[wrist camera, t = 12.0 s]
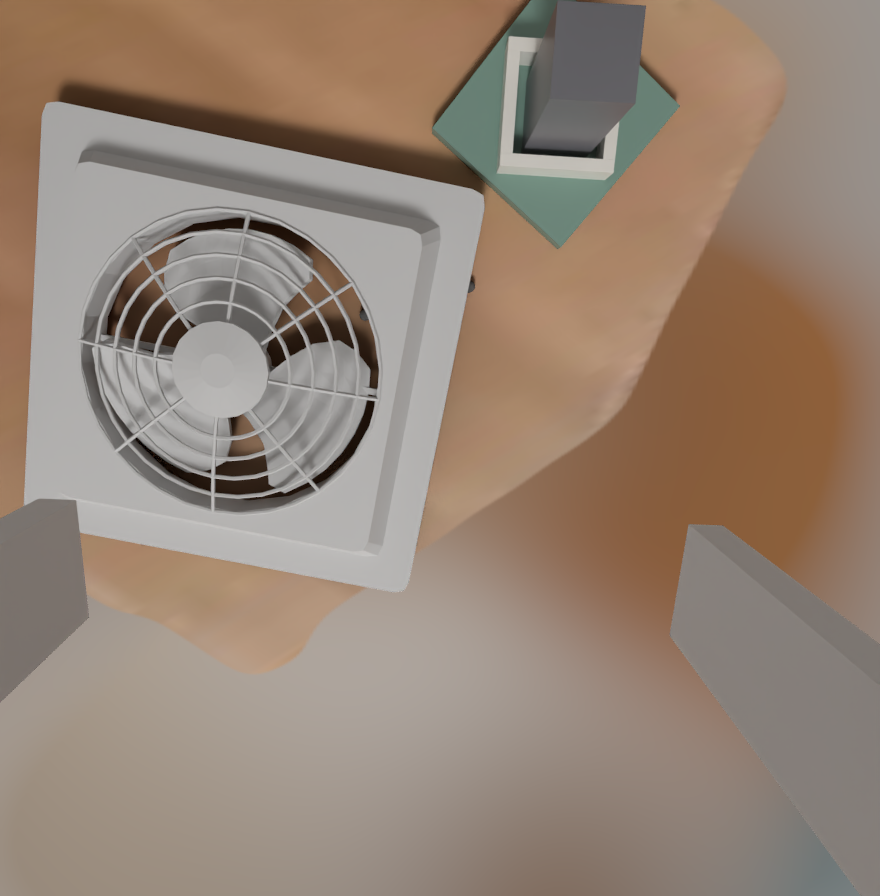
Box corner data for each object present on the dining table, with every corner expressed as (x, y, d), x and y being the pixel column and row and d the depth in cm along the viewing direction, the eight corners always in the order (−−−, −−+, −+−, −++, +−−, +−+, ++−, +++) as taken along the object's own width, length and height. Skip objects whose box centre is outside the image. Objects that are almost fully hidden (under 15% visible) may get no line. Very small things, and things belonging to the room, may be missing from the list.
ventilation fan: (-21, 541, 40) (-7, 71, 34) (42, 512, 47) (64, 110, 40) (401, 621, 41) (492, 177, 35) (408, 582, 47) (485, 199, 41)
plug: (521, 154, 40) (549, 98, 30) (526, 78, 39) (558, -5, 29) (585, 157, 40) (635, 103, 30) (592, 82, 39) (646, 1, 29)
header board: (432, 133, 41) (432, 117, 38) (547, -15, 39) (556, -45, 36) (557, 249, 42) (567, 243, 39) (672, 112, 41) (693, 94, 37)
